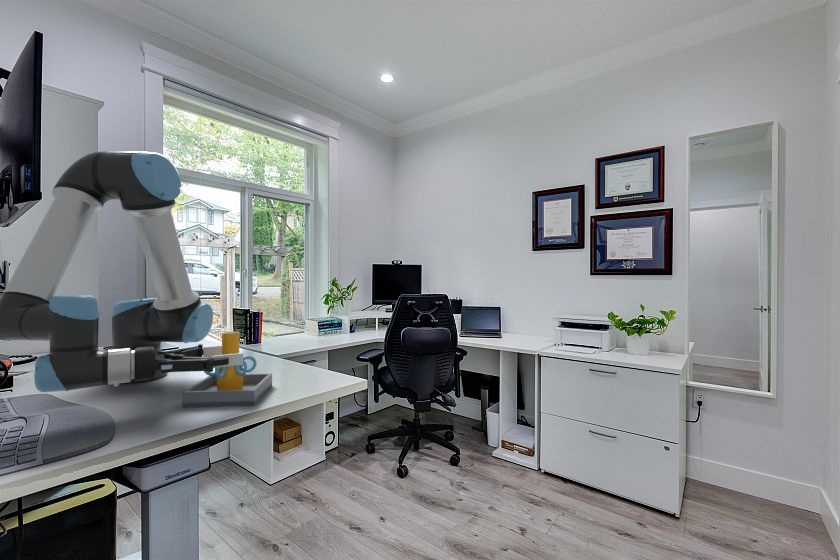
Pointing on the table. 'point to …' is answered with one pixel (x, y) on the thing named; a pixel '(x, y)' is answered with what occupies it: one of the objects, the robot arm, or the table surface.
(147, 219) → the robot arm
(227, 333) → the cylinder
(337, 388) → the table surface
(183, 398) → the tray
